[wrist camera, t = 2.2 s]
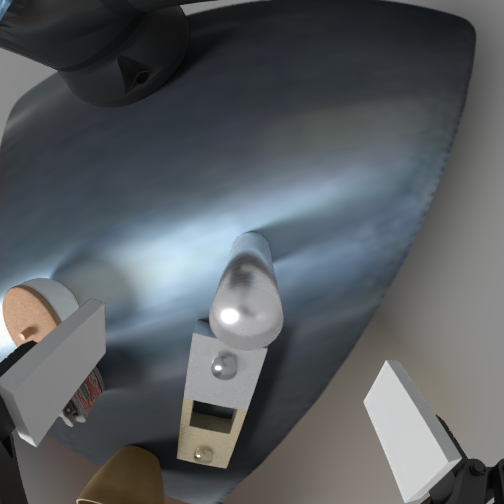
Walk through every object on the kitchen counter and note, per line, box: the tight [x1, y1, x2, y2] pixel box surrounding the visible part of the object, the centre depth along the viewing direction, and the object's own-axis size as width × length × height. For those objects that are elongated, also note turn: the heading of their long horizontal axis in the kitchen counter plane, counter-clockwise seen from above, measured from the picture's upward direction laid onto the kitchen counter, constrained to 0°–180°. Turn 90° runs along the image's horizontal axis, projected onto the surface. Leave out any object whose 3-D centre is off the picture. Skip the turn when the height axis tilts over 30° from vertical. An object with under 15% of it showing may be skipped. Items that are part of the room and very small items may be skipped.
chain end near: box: [184, 320, 268, 423], centre depth 32 cm, size 16×8×4 cm, turn 167°
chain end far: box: [177, 398, 247, 468], centre depth 34 cm, size 16×8×4 cm, turn 167°
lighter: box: [58, 366, 105, 426], centre depth 30 cm, size 8×3×10 cm, turn 10°
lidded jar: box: [3, 278, 79, 347], centre depth 27 cm, size 11×11×9 cm
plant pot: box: [76, 445, 165, 504], centre depth 32 cm, size 15×15×16 cm
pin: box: [209, 232, 283, 351], centre depth 22 cm, size 4×4×15 cm
